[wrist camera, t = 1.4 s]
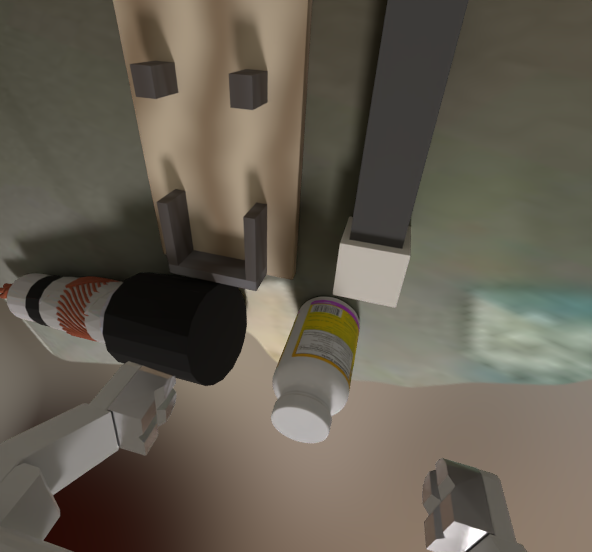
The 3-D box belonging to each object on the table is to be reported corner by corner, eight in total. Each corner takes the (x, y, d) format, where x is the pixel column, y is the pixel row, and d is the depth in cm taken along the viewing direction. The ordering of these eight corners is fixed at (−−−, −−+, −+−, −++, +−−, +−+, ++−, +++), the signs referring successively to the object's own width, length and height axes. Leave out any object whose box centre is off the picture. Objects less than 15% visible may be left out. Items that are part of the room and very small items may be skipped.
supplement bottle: (325, 348, 40) (295, 457, 30) (287, 309, 38) (241, 410, 28) (374, 327, 37) (359, 442, 27) (334, 283, 35) (301, 388, 25)
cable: (44, 252, 51) (-43, 255, 42) (248, 277, 39) (188, 290, 29) (47, 319, 52) (-37, 337, 43) (245, 364, 40) (186, 403, 31)
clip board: (317, -75, 21) (298, -95, 17) (295, 272, 35) (283, 298, 32) (109, -78, 23) (58, -95, 20) (169, 247, 38) (146, 269, 35)
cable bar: (478, -24, 20) (493, -36, 16) (397, 275, 32) (395, 307, 29) (386, -27, 21) (380, -39, 17) (341, 264, 33) (332, 294, 30)
